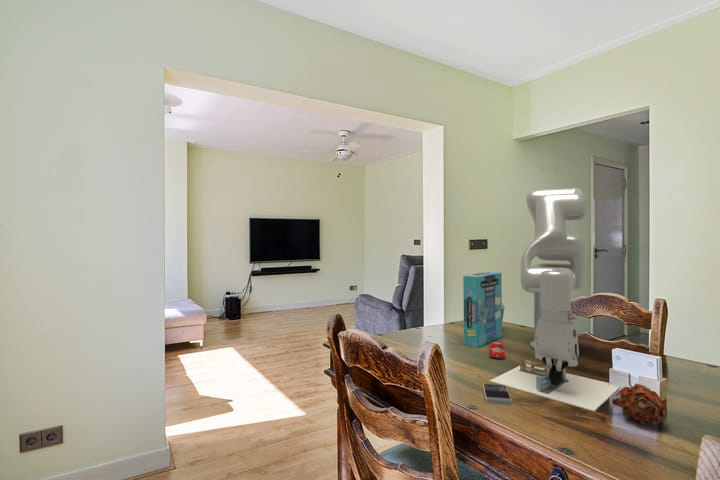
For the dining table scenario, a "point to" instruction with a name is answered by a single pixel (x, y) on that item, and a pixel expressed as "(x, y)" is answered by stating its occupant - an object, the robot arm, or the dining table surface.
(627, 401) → the dragon fruit
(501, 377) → the card
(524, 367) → the fence section
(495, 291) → the game box
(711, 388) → the dining table surface
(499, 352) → the race car
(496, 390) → the cell phone
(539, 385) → the panel
